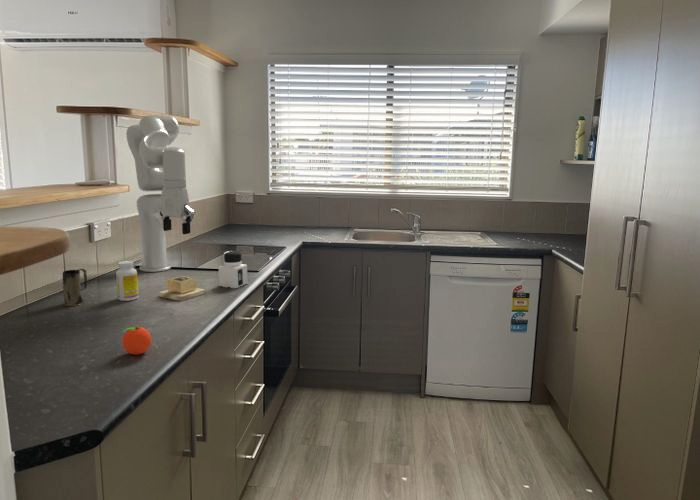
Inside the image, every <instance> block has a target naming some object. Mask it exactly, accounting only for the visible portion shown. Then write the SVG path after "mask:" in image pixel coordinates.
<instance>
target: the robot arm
mask: <svg viewBox="0 0 700 500" xmlns="http://www.w3.org/2000/svg"><path fill="white" fill-rule="evenodd" d="M138 123H139V124H138ZM138 123H137V124H133V125H130V126H128V127H127V128H126V133H125V134H126V142H127V145H128V148H129V150H130V152H131V155H132V157H133V158H134V164H135V171H136V180H137V185H138V188H139V190H141V191H142V192H161V193H150V194H149V193H148V194H143V195H140V196H139V197H138V199H136V209H137V213H138V219H139V224H140V237H141V238H140V239H141V250H142V256H141V258H139V259H138V262H139V263H141V265H140V266H139V268H138V269H139V271H141V272H145V273H146V272H147V273H155V272H163V271H168V270H170V269H171V268H172V265H171V264H169V263H168V258H167V257H168V256H167V243H166V232H168V231H171V230H172V219H171V217H172V218H178V219H179V218H180V219H181V221H182V223H181V230H182V233H181V234H183V235H188V234H191V223H192V220H193V219H194V215H195V210H194V209H192V208H191V207H190V199H189V193H188V188H187V179H186V178H187V177H186V154H185V151H184V149H181V148H179V147H177V146H170V145H172V143H173V142H175V140H176V139H177V138H178V135H179V132H180V126H179V123H178V120H177V118H175V117H174V116H172V115H158V114H157V115H152V114H149V115H145V116H143V117H142V118H140V120H139V122H138ZM159 218H161V220H162V221H161V220H159Z"/></svg>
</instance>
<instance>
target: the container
mask: <svg viewBox="0 0 700 500" xmlns="http://www.w3.org/2000/svg"><path fill="white" fill-rule="evenodd" d="M242 261H243V260H242V252H241V251H238V250H228V251H225V252H224V253H223V264H222V265H220V266H218V285H219V287H221V286H222V288H228V287H230V289H235V288H236V289H238V288H241V287H243V285H244V286H245V284H246V285H248V264H243V263H242ZM240 286H241V287H240Z"/></svg>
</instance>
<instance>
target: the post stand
mask: <svg viewBox="0 0 700 500" xmlns="http://www.w3.org/2000/svg"><path fill="white" fill-rule="evenodd" d="M183 280H185V278H178V281H183ZM205 294H206V289H203V288H199V287H196V289H195V290H192V291H188V292H185V293H182V294H180V293H176V292H171V291H168V290H167V289H165V290H162V291H159V292H158V296H159V297H161V298H165V299H169V300H174V301H179V302H182V301H187V300H189V299H193V298H196V297H198V296H202V295H205Z"/></svg>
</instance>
